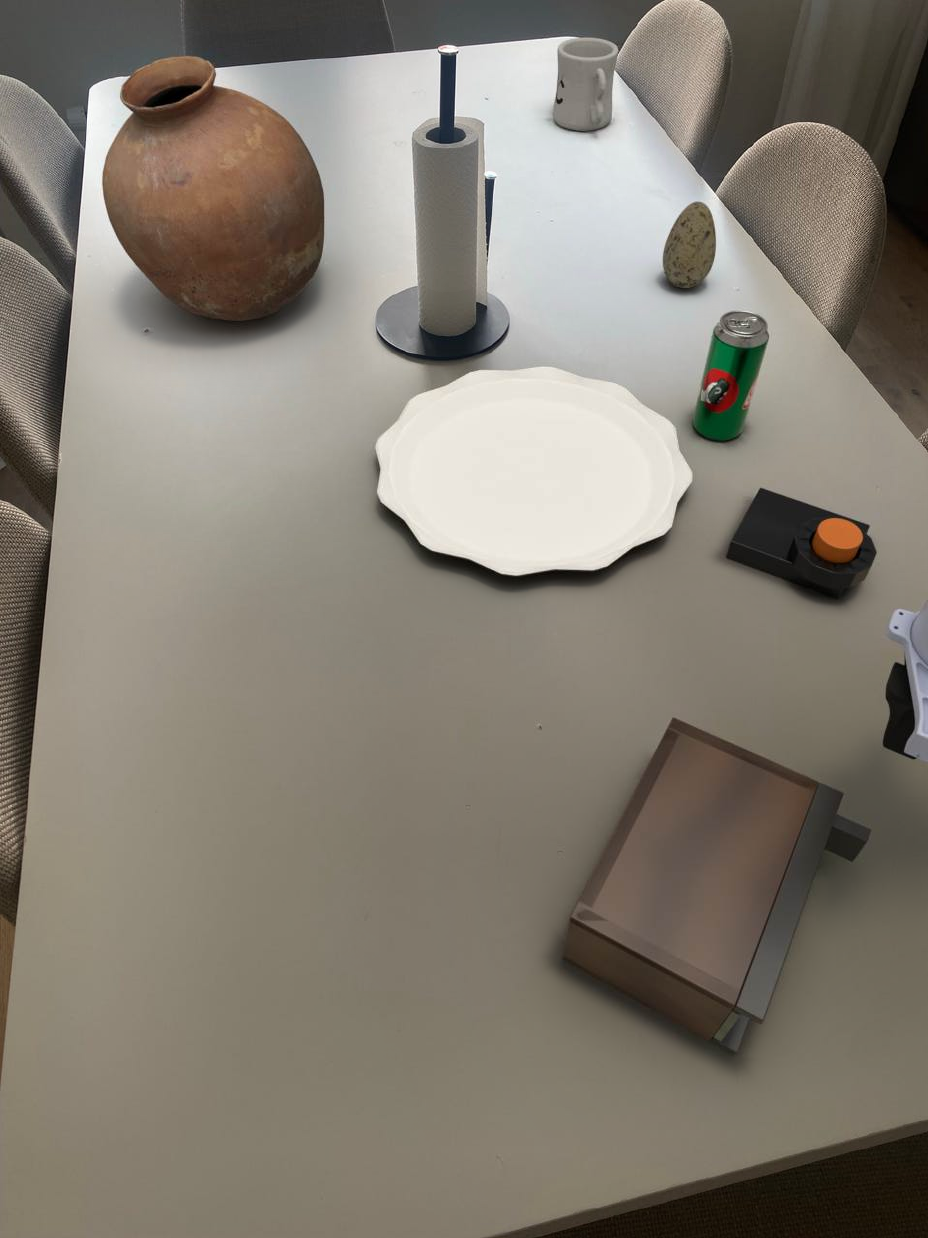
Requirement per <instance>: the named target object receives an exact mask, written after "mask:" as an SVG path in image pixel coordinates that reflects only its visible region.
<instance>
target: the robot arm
mask: <svg viewBox="0 0 928 1238" xmlns="http://www.w3.org/2000/svg"><path fill="white" fill-rule="evenodd" d="M885 636H886V637H887V639H889V640H891V641H893V642H895V643H898V644H900V645H901V646H902V648H903V654H904V655H903V657H904V659H903V660H904V663H903V664H902V663H900V662H899V661H895V662H894V663H893V665H892V667H891V670H890V672H889V673H890V674H889V676H888V679H887V681H886V684H885V700H886V702H887V705H888V708H889V716H888V720H887V723H886V726H885V729H884V733H883V738H882V746H883V748H884V749H887V750H889V751H891V752H894V753H895V754H896V753H897V754H899V755H901V756H904V757H906V758H908V759H911V760H913V761H914V760H920V761H922V762H925V763H927V764H928V598H927V599H926V601H925V602H924V604H923V606H922V607H921V609H920V610H918V611H916V612H915V611H909V610H906V609H903V608H898V609H895V610H894V611H893V612H892V614H891V616H890V618H889V621H888V624H887V625H886V629H885Z"/></svg>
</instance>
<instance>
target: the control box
mask: <svg viewBox="0 0 928 1238" xmlns="http://www.w3.org/2000/svg"><path fill="white" fill-rule="evenodd" d="M830 518H839V519H844V520H847V521H850V522H852V523H853V524H855V525H856V526H857V527H858V528H859V529H860V530H861V532H862V535H863V540H862V543H861V545H860V547H859V549H858V551H857V553H856V555H855V557H854V558H853V559H852V560H851V561H849V562H846V563H834V562H831V561H828V560H825V559H823V558H821V557H820V556H818V555H817V554H816V553H815V552H814V550H813V547H812V541H813V538H814V536H815V533H816V531H817V528H818V526H819V524H820V523H821V522H822V521H824V520H826V519H830ZM870 527H871V525H870V524H868V523H866V522H862V521H860V520H856V519H854V518H851V517H848V516H845V515H842V514H840V513H836V512H833V511H830V510H827V509H824V508H821V507H818V506H815V505H813V504H810V503H807V502H805V501H801V500H798V499H796V498H792V497H789V496H787V495H784V494H781V493H778V492H775V491H772V490H769V489H766V488H763V487H760V488H759V489H758V491H757V493H756V494H755V496H754V498H753V499H752V501H751V504H750V505H749V507H748V509H747V510H746V512H745V514H744V516H743V517H742V519H741V521H740V524H739V525H738V526H737V528H736V531H735V532H734V534H733V536H732V538H731V540H730V542H729V544H728V549H727V551H726V554H725V558H726V559H727V560H730V561H733V562H736V563H738V564H741V565H744V566H747V567H749V568H752V569H754V570H757V571H760V572H762V573H765V574H768V575H770V576H774V577H776V578H778V579H781V580H783V581H787V582H789V583H791V584H794V585H797V586H799V587H802V588H805V589H807V590H810V591H813V592H815V593H816V592H817V593H818V594H821V595H824V596H827V597H829V598H831V599H834V600H836V601H837V600H839V599H840V598H841V595H842V593H843V591H844V588H845V589H849V588H852V587H855V586H856V585H857V584H859V583H861V582H863V581H865V580H866V579H867V577H868V575H869V572H870V570H871V568H872V566H873V564H874V561H875V559H876V556H877V554H878V551H877V549H876V547H875V544H874V542H873V539H872V537H871V536H870V535H869V534H868V532H869V530H870Z"/></svg>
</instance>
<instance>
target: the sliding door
mask: <svg viewBox="0 0 928 1238" xmlns="http://www.w3.org/2000/svg"><path fill="white" fill-rule="evenodd" d="M871 832H872V829H871V828H868V827H866V826H864V825H862V824H860V823H857V822H855V821H853V820H851V819H848V818H846V817H844V816H842V815H840V814H838V813H837V814H836V817H835V820H834V823H833V826H832V829H831V831H830V834H829V837H828V840H827V843H826V846H825V848H824V851H827V852H829V853H832V854H834V855H836V856H838V857H839V858H842V859H844V860H847V861H849V862H851V863H853V862H854V861H855V860H856V858H857V857H858V855H859V854H860V853H861V851H862V850H863V849H864V847H866V845H867V844H868V842H869V839H870V835H871Z"/></svg>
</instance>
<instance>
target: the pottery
mask: <svg viewBox="0 0 928 1238" xmlns="http://www.w3.org/2000/svg"><path fill="white" fill-rule="evenodd" d="M216 77H217V72H216V68H215V66H214V65H213V64H212V63H211V62H210V61H209V60H205V59H204V58H201V57H199V56H191V55H182V56H171V57H166V58H162V59H157V60H155V61H153V62H151V63H149V64H146V65H144V66H142V67H140V68H138V69H136V70H135V71H134V72H133V73H132V74H130V75H129V77H128V78H127V79H126V80H125V81H124V82H123V83H122V85H121V88H120V91H119V93H120V94H119V99H120V102H121V103H122V104H123V105H124V106H125V107H126V108H127V109H128V110H129V111H131V112H132V113H131V114H130V115H129V117H128V118H127V119H126V120H125V121H124V122H123V124H122V126H121V127H120V129H119V130H118V132H117V134H116V136H115V137H114V139H113V141H112V143H111V145H110V146H109V148H108V150H107V153H106V156H105V159H104V165H103V169H102V176H101V177H102V178H101V179H102V180H101V186H102V194H103V195H102V196H103V200H104V206H105V209H106V213H107V216H108V219H109V223H110V225H111V227H112V229H113V233H114V234H115V236H116V238H117V240H118V242H119V244H120V245H121V247H122V249H123V250H124V252H125V253H126V254H127V255H128V257H129V258H130V259H131V261H132V262H133V264H134V265H135V266H136V267H137V268H138V270H140V271H141V273H142V274H143V275H144V276H145V277H146V278H147V279H148V281H150V283H152V285H154V287H155V288H156V289H157V290H158V291H159V292H160V293H161V294H162V295H163V296H164V297H165V298H166V299H168V300H169V301H170V302H172V303H173V304H174V305H176V306H177V307H179V308H181V309H183V310H185V311H187V312H190V313H193V314H196V315H198V316H202V317H205V318H208V319H215V320H222V321H231V322H241V321H250V320H255V319H262V318H265V317H267V316H269V315H272V314H275V313H276V312H278V311H279V310H280V309H281V308H284V306H286V305H288V304H289V303H290V302H291V301H292V300H293V299H295V298H296V297H297V296H298V295H299V294H301V292H302V291H303V290H304V289H305V288H306V287H307V286H308V284H309V283H310V282H311V281H312V279H313V277H314V276H315V274H316V272H317V270H318V268H319V266H320V263H321V260H322V257H323V252H324V251H323V250H324V244H325V193H324V187H323V182H322V178H321V175H320V172H319V170H318V167H317V165H316V163H315V160H314V158H313V156H312V154H311V152H310V150H309V148H308V147H307V145H306V143H305V141H304V140H303V138H302V137H301V135H300V133H298V131H297V130H296V129H295V128H294V126H293V125H292V124H291V123H290V121H288V119H286V118H285V117H284V116H283V115H282V114H280V113H279V112H278V111H276V110H275V109H273V108H272V107H270V105H268V104H266V103H264V102H262V101H260V100H259V99H257V98H254V97H253V96H251V95H248V94H246V93H243V92H242V91H238V90H235V89H232V88H227V87H224V86H218V85H215V80H216Z"/></svg>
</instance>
